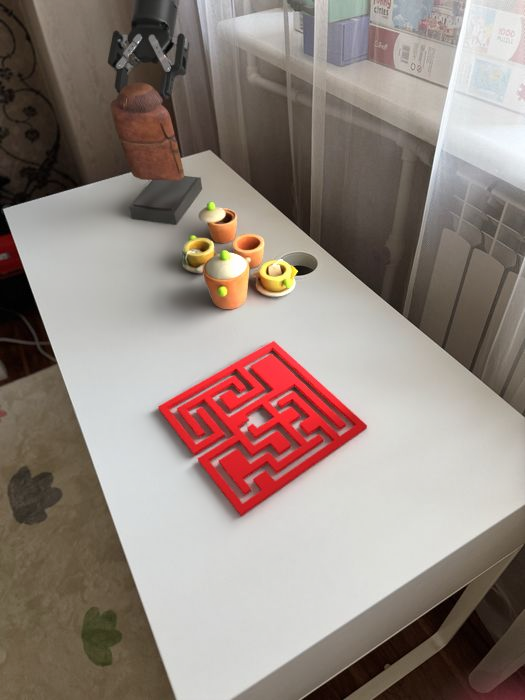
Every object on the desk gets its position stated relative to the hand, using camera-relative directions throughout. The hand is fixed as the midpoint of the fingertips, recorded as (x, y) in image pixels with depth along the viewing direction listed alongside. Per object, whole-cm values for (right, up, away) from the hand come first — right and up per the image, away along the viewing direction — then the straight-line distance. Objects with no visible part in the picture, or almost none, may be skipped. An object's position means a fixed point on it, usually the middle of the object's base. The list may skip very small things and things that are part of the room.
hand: (142, 95), depth 95 cm
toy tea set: (+16, -31, +1) cm, 34 cm away
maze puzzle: (+21, -54, -23) cm, 63 cm away
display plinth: (+2, -14, +17) cm, 22 cm away
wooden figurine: (+1, -10, +13) cm, 16 cm away
